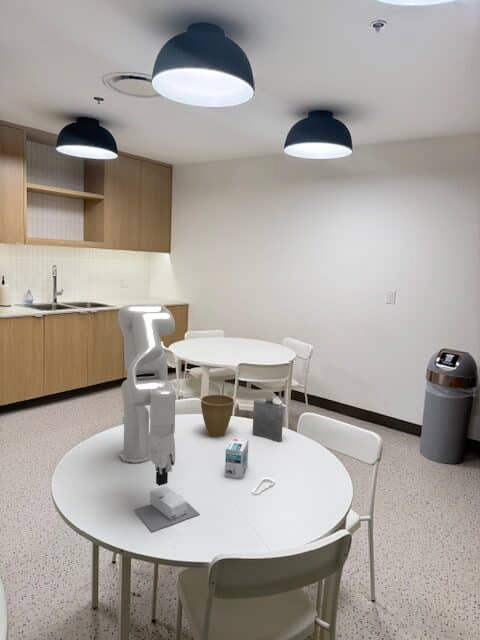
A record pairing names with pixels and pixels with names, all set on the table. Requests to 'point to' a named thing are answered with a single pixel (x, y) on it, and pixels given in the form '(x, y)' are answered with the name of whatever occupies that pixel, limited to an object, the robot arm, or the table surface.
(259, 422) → the flask
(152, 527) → the mat
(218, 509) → the table surface
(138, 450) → the robot arm
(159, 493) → the skincare box
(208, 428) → the plant pot
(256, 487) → the stepped key frame
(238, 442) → the light bulb box
